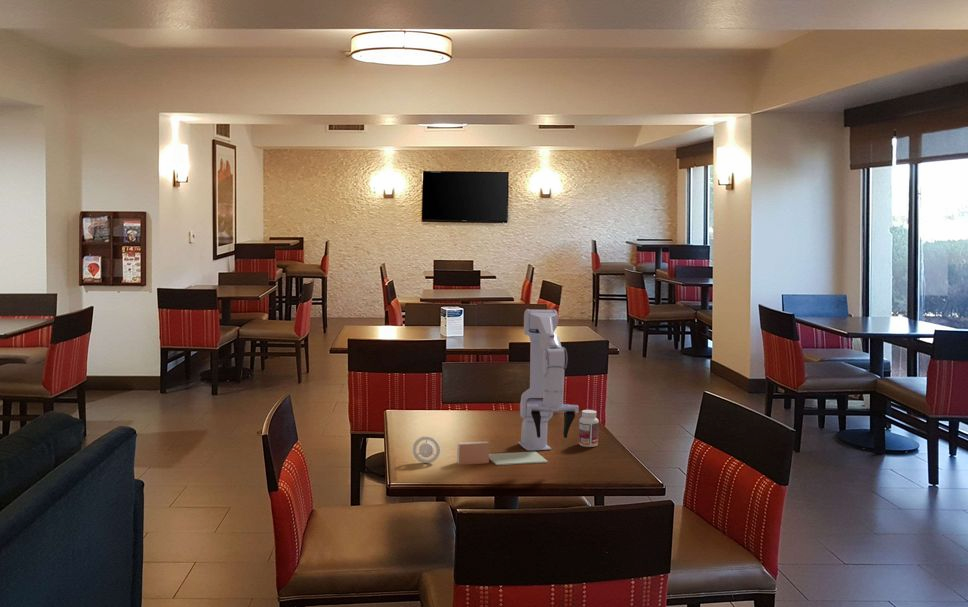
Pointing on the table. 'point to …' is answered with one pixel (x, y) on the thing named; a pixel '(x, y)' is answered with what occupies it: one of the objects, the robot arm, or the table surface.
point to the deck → (473, 452)
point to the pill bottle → (588, 429)
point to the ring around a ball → (426, 449)
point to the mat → (516, 458)
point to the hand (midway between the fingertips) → (551, 436)
